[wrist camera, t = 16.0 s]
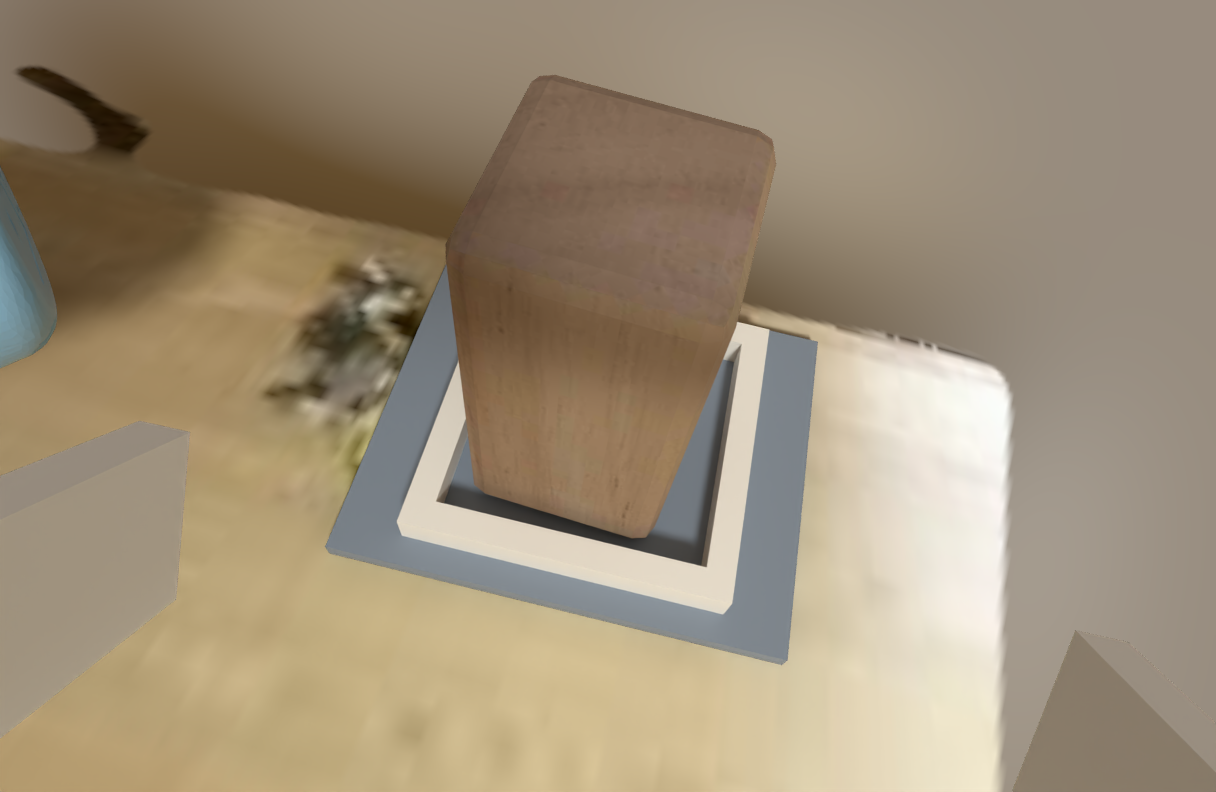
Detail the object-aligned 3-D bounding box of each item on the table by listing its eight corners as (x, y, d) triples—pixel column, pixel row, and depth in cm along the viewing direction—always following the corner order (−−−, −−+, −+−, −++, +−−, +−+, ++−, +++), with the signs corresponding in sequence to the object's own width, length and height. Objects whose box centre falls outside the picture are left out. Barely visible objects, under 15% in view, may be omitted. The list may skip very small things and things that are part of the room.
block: (528, 348, 47) (533, 57, 30) (689, 395, 46) (788, 125, 29) (467, 495, 42) (431, 245, 25) (647, 550, 41) (737, 334, 24)
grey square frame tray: (329, 553, 41) (316, 532, 38) (450, 265, 51) (447, 234, 48) (781, 664, 40) (799, 651, 37) (812, 350, 50) (828, 323, 48)
